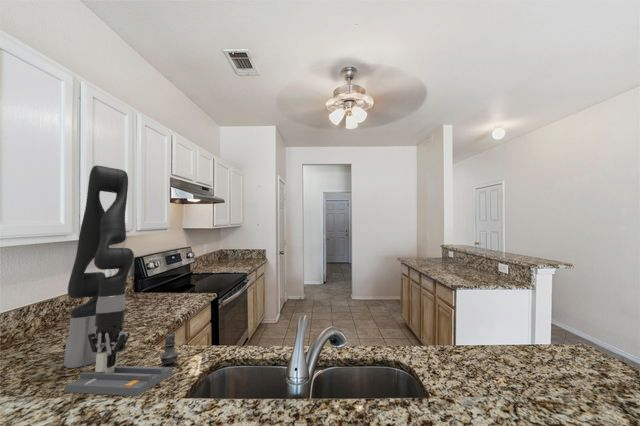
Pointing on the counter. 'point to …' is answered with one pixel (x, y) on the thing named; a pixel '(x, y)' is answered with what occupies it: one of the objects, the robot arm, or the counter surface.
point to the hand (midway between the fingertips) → (106, 366)
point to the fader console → (119, 380)
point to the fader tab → (104, 363)
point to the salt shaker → (169, 351)
